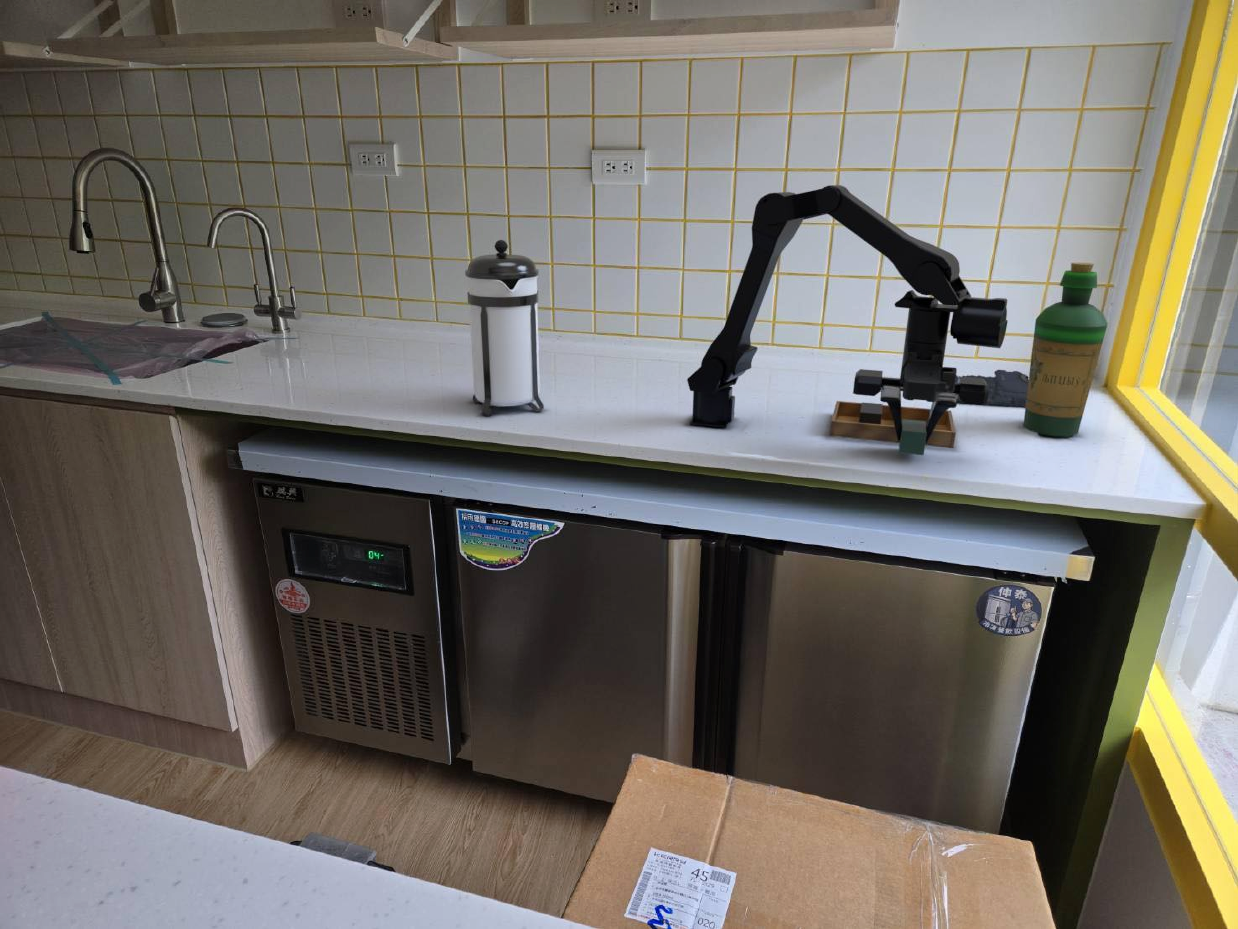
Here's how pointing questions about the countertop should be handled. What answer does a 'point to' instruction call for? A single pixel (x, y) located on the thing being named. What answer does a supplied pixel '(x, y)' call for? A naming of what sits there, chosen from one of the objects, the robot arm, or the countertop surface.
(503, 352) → the coffee press
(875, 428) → the wooden tray
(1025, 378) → the dark slate chunk
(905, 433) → the green block
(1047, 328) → the bottle
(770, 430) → the countertop surface
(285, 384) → the countertop surface
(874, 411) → the dark grey block
